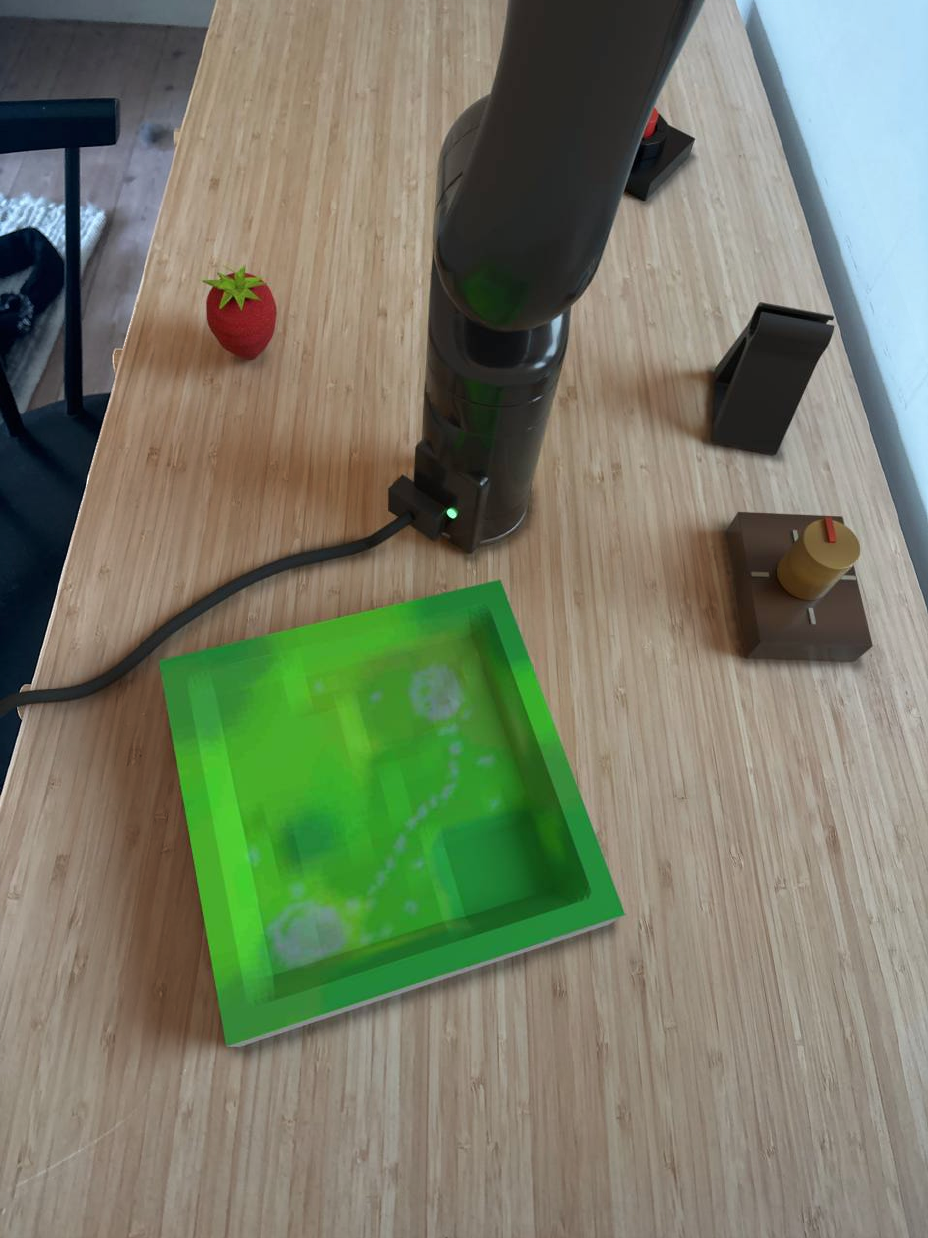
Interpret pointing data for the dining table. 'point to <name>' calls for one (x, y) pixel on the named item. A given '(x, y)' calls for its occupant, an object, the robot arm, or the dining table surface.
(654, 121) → the button
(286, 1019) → the tray
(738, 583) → the lock plate
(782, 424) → the phone stand
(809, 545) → the lock knob
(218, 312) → the strawberry
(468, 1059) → the dining table surface
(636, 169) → the button block
